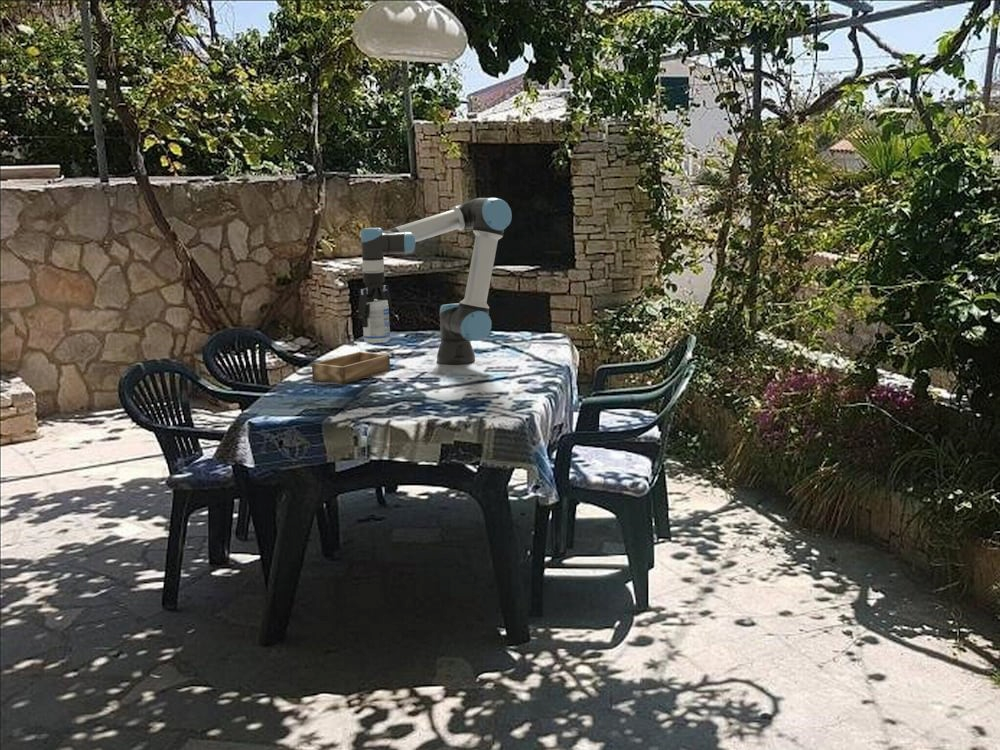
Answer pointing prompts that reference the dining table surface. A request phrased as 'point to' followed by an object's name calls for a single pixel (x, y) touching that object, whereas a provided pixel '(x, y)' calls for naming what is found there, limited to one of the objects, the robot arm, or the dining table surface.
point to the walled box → (350, 367)
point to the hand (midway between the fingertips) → (376, 333)
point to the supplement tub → (378, 322)
